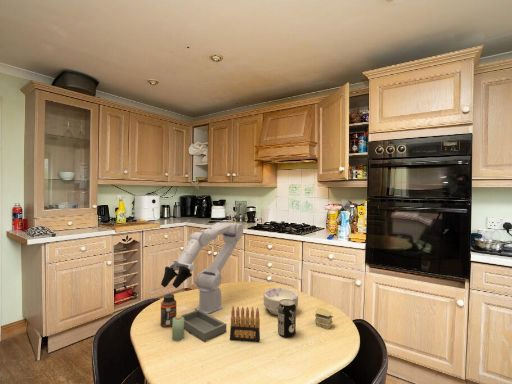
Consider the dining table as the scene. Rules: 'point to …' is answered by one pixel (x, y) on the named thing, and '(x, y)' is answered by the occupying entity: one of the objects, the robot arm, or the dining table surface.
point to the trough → (203, 325)
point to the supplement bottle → (168, 310)
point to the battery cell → (178, 328)
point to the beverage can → (286, 318)
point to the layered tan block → (323, 318)
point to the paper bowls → (278, 298)
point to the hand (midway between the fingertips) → (168, 286)
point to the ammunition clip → (245, 326)
